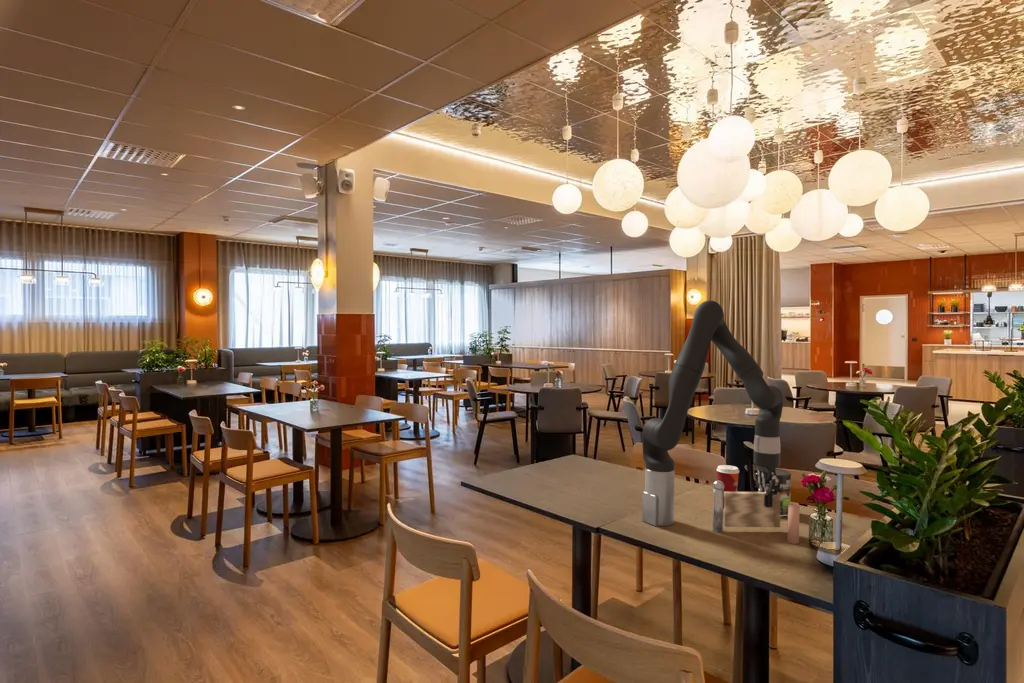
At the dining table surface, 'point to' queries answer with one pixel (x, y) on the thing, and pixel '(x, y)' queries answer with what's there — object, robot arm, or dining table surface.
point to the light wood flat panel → (750, 510)
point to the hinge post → (718, 506)
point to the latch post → (793, 523)
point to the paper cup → (728, 478)
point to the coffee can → (784, 490)
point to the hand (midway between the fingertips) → (766, 505)
